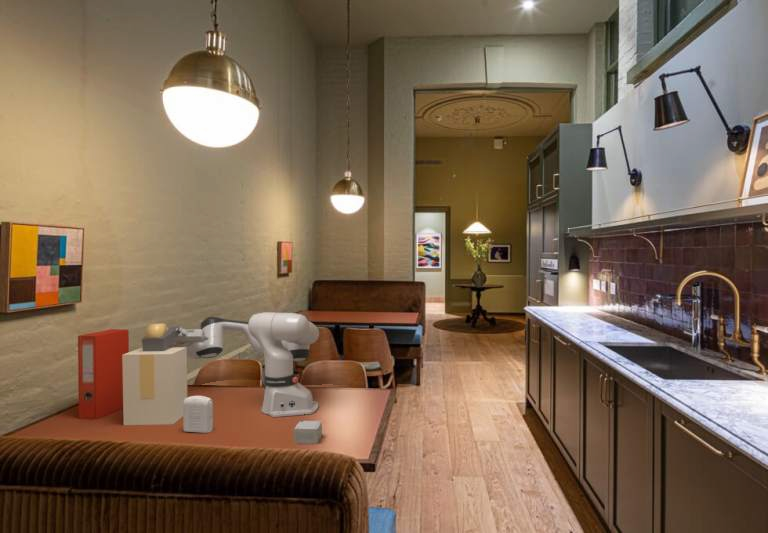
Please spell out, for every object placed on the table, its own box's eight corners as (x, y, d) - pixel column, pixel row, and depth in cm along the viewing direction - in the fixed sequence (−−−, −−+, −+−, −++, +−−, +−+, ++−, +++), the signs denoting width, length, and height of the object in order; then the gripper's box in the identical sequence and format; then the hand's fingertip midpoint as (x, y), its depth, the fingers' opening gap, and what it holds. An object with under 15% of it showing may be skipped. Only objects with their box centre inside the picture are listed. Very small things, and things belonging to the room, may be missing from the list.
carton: (187, 412, 181) (186, 347, 181) (172, 424, 168) (171, 354, 167) (141, 413, 181) (140, 348, 180) (123, 425, 167) (122, 354, 167)
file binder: (129, 405, 191) (128, 329, 191) (97, 419, 174) (95, 336, 174) (113, 404, 192) (111, 329, 192) (78, 418, 175) (77, 335, 175)
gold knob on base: (164, 351, 173) (162, 327, 172) (143, 351, 173) (140, 327, 171) (186, 333, 194) (184, 311, 192) (167, 333, 194) (165, 311, 192)
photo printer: (215, 429, 162) (214, 394, 162) (208, 433, 158) (208, 398, 158) (188, 428, 164) (187, 393, 164) (181, 432, 160) (180, 397, 160)
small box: (317, 444, 148) (317, 428, 148) (293, 444, 149) (293, 428, 148) (322, 435, 156) (322, 420, 156) (299, 435, 156) (299, 420, 156)
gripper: (208, 347, 202) (197, 335, 190) (161, 347, 201) (147, 336, 189) (210, 333, 205) (200, 321, 193) (164, 334, 204) (151, 322, 192)
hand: (173, 329), depth 191 cm, fingers closed on gold knob on base, 3 cm apart
